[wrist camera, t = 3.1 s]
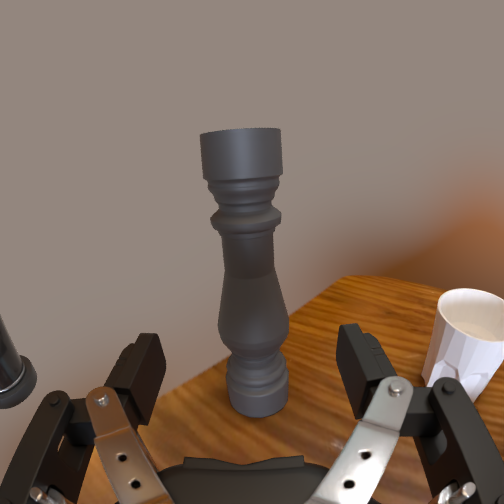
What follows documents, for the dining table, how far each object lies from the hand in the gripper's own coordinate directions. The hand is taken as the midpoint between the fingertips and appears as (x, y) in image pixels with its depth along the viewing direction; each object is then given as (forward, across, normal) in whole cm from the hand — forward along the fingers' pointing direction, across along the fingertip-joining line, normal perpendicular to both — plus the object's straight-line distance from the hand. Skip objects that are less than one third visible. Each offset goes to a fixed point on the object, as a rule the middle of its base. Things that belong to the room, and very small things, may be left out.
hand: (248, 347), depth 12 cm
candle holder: (+11, 0, +16) cm, 19 cm away
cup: (+7, -22, +16) cm, 28 cm away
